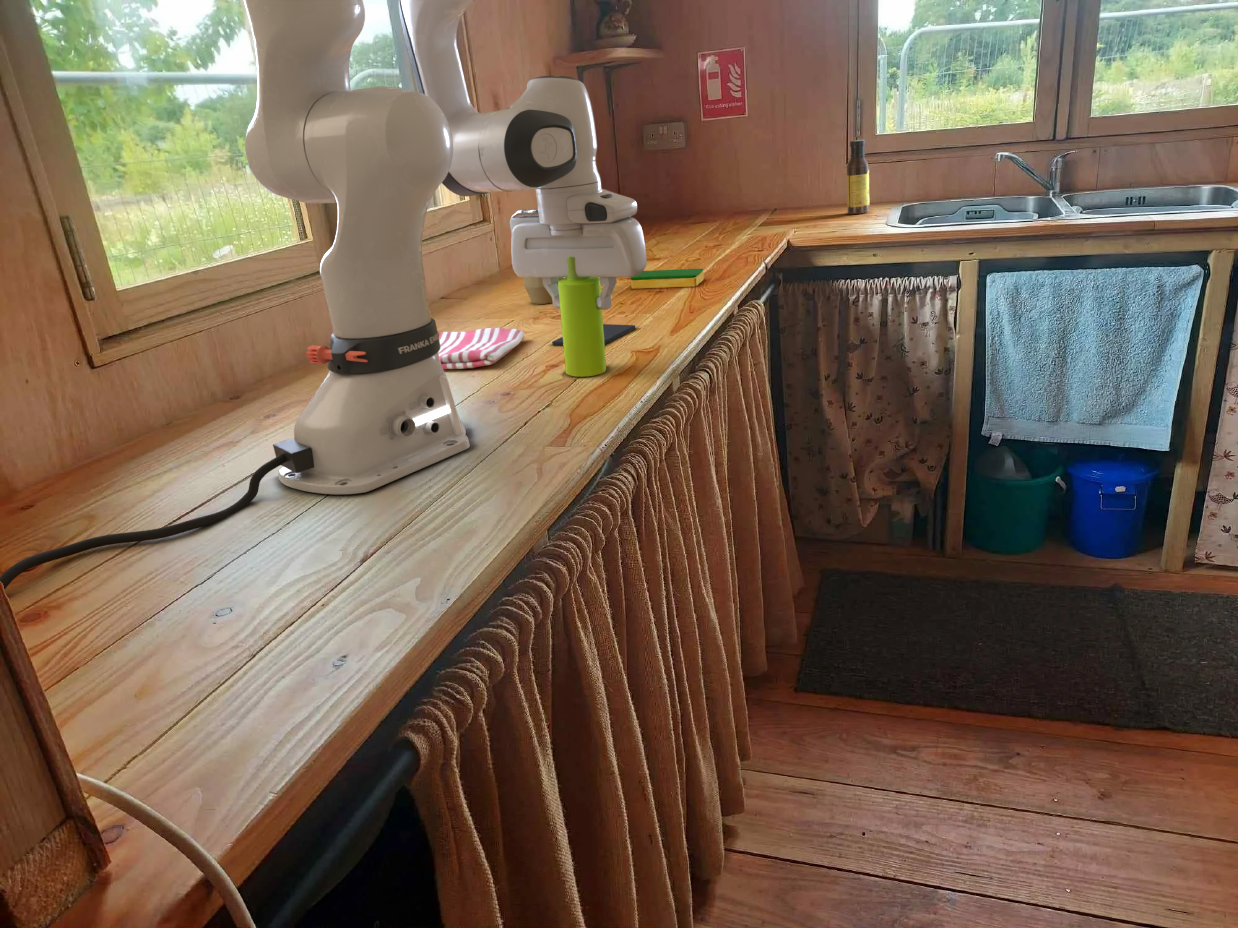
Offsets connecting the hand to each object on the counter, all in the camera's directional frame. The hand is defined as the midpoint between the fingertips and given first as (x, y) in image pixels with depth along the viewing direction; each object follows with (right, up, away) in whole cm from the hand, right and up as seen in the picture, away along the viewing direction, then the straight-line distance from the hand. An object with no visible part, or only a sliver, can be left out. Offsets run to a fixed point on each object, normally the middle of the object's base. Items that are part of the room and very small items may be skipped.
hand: (582, 308), depth 123 cm
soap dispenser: (+1, -9, +3) cm, 9 cm away
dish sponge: (+15, +15, +58) cm, 62 cm away
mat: (+1, -1, +22) cm, 22 cm away
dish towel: (-23, -5, +19) cm, 31 cm away
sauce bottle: (+75, +51, +130) cm, 158 cm away
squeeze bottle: (-9, +11, +54) cm, 56 cm away
